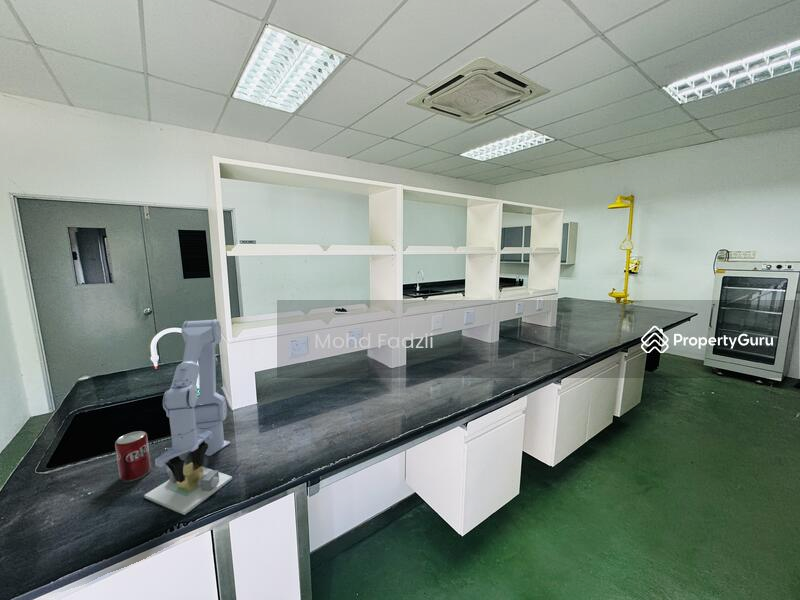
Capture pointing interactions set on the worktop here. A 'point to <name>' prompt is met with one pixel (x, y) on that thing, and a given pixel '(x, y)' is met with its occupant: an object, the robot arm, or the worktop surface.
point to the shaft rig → (184, 500)
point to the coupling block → (190, 477)
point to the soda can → (133, 456)
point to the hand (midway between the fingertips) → (188, 475)
